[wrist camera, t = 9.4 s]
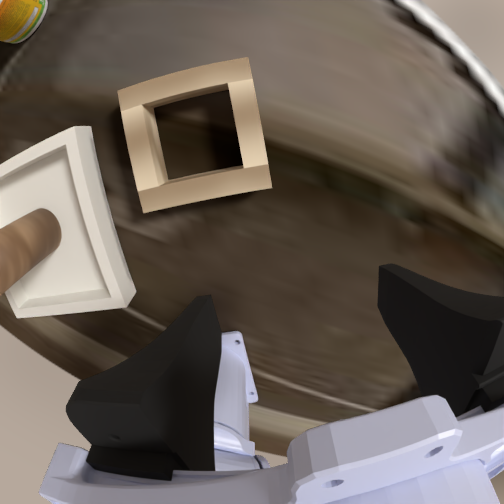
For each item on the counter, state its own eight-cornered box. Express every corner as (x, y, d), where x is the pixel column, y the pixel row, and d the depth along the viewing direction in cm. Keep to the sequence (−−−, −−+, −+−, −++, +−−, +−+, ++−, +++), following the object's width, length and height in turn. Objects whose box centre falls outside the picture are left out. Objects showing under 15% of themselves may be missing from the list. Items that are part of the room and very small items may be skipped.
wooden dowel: (67, 248, 22) (4, 303, 13) (36, 255, 22) (-24, 305, 13) (53, 203, 20) (-20, 243, 12) (23, 213, 20) (-45, 253, 12)
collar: (269, 181, 21) (272, 187, 18) (154, 204, 21) (143, 213, 19) (247, 66, 17) (248, 57, 15) (131, 95, 18) (117, 90, 16)
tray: (136, 291, 24) (126, 307, 21) (29, 305, 24) (17, 318, 22) (90, 126, 18) (74, 126, 16) (-14, 179, 19) (-30, 184, 17)
